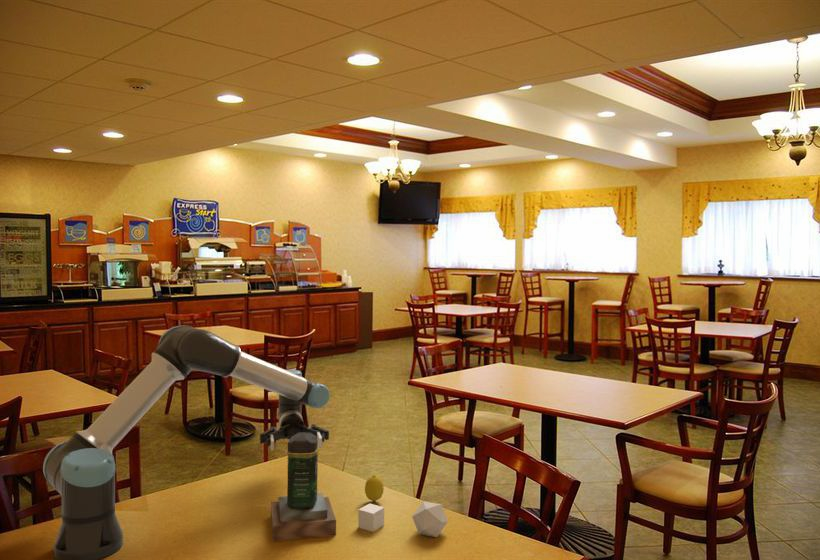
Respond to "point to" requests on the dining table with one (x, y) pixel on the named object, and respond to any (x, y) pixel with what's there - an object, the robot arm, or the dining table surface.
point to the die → (430, 519)
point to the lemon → (374, 488)
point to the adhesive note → (371, 517)
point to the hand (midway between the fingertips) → (296, 444)
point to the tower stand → (302, 520)
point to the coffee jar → (302, 470)
